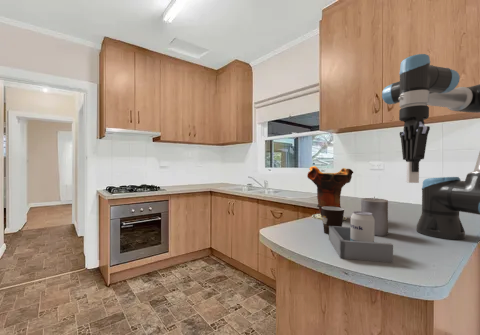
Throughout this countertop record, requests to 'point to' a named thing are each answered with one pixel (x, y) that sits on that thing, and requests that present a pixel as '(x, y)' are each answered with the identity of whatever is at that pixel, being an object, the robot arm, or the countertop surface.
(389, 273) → the countertop surface
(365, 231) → the beverage can
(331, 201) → the decorative vase
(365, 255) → the box
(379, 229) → the pillar candle
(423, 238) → the countertop surface
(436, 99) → the robot arm
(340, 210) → the coffee mug
